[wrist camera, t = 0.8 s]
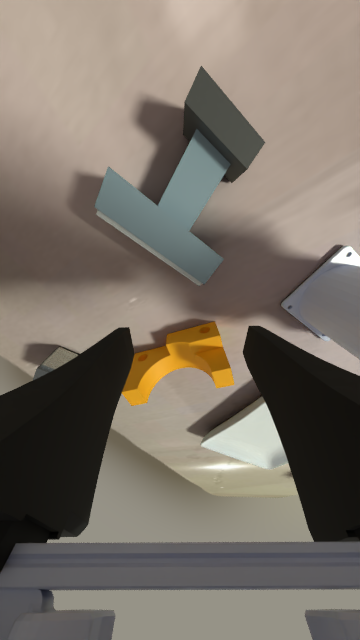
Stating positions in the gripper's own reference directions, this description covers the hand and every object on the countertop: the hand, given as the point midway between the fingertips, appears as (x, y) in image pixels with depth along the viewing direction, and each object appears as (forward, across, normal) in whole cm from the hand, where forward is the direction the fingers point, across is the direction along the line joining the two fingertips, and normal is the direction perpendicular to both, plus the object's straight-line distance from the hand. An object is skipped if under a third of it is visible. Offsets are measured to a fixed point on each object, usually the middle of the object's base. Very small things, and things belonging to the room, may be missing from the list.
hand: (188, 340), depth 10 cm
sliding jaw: (+9, 0, -8) cm, 12 cm away
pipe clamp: (+10, +1, +8) cm, 13 cm away
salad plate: (+10, -17, +28) cm, 35 cm away
